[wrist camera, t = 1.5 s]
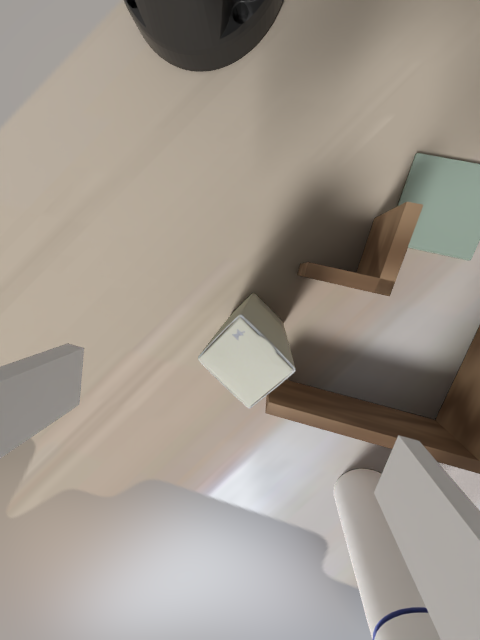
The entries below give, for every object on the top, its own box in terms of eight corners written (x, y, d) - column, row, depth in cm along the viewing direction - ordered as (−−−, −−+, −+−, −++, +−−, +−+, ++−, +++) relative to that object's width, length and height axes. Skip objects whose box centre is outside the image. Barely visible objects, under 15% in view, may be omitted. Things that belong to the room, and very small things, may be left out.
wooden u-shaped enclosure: (316, 206, 24) (329, 186, 19) (529, 250, 23) (618, 243, 17) (267, 384, 29) (265, 413, 23) (442, 432, 27) (487, 475, 21)
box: (227, 317, 28) (190, 356, 16) (254, 291, 27) (237, 309, 14) (259, 349, 28) (248, 413, 16) (287, 324, 27) (299, 370, 15)
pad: (415, 154, 22) (417, 152, 22) (507, 170, 22) (510, 169, 21) (384, 242, 24) (386, 242, 24) (468, 260, 24) (470, 260, 23)
